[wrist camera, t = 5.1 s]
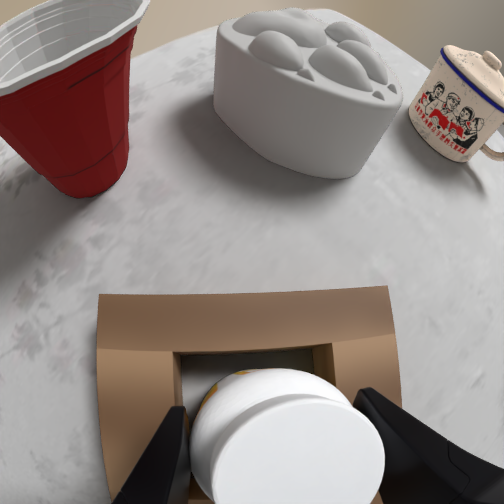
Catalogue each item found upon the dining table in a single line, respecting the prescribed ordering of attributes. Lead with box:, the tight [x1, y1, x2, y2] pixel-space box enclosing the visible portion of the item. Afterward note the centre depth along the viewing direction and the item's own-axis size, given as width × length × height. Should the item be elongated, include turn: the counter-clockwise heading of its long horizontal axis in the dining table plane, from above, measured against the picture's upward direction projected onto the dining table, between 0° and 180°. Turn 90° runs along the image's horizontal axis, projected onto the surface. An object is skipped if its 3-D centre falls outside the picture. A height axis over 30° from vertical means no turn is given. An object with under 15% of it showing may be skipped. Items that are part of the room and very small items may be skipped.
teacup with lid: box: [409, 45, 504, 162], centre depth 19 cm, size 12×9×12 cm
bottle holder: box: [97, 286, 402, 504], centre depth 12 cm, size 14×14×3 cm
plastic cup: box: [0, 0, 150, 198], centre depth 13 cm, size 11×11×12 cm
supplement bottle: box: [189, 368, 385, 504], centre depth 9 cm, size 5×5×10 cm
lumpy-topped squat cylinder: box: [213, 8, 403, 179], centre depth 18 cm, size 10×13×9 cm
